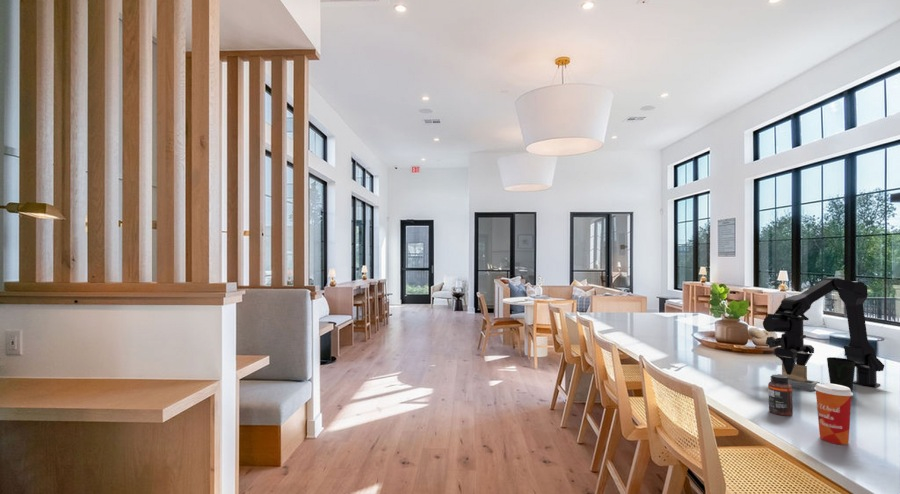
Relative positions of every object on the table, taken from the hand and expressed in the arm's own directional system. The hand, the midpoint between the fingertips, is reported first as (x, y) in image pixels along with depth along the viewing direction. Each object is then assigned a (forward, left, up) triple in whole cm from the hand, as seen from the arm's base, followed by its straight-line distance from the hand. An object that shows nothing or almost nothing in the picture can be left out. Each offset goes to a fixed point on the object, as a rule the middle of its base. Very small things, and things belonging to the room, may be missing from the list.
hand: (794, 373), depth 166 cm
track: (0, 0, -5) cm, 5 cm away
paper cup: (+53, +29, -5) cm, 60 cm away
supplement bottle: (+41, +12, -5) cm, 43 cm away
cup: (-3, +13, -5) cm, 14 cm away
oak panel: (0, 0, -4) cm, 4 cm away
